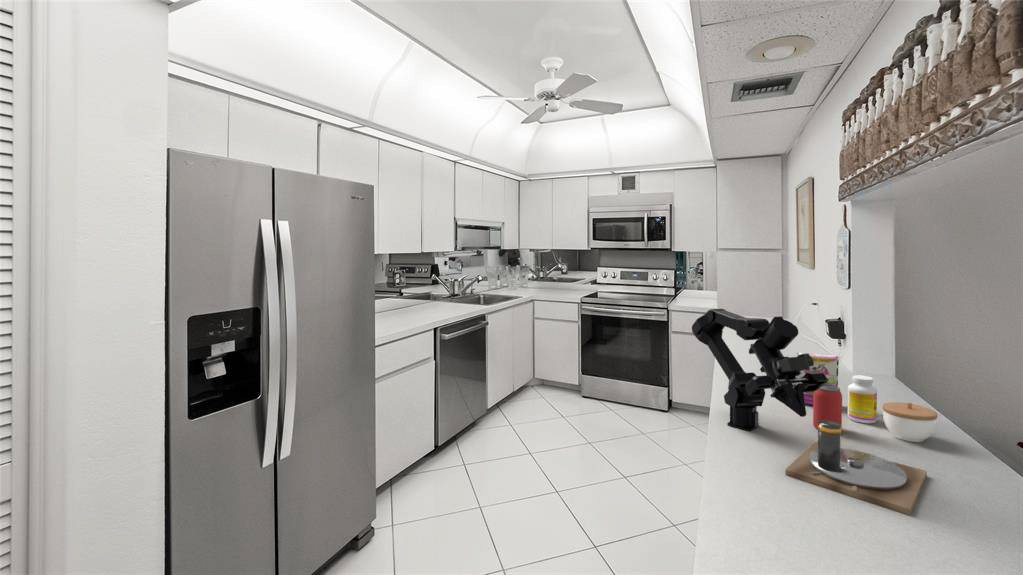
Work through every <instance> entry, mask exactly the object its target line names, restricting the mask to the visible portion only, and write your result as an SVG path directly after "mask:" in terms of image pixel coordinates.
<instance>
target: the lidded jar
mask: <svg viewBox="0 0 1023 575" xmlns="http://www.w3.org/2000/svg"><path fill="white" fill-rule="evenodd" d="M882 417H883V423H884V426H885V427H886V428H887V430H889V432H890V433H891V434H892V435H893V437H895V438H897V439H900V440H903V441H906V442H913V443H922V442H924V441H925V440H927V439H929V438H930V437H931V436H932V435H933V434H934V432H935V431H936V427H937V423H938V422H937V418H938V412H936V410H934V409H931V408H929V407H926V406H922V405H918V404H913V403H912V402H908V401H907V402H896V401H893V402H892V401H891V402H890V401H889V402H885V403H883V404H882Z"/></svg>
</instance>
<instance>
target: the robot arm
mask: <svg viewBox="0 0 1023 575" xmlns="http://www.w3.org/2000/svg"><path fill="white" fill-rule="evenodd" d="M725 328H728V329H730V330H733V331H735V332H736V335H737V336H738V337H739V338H740V339H742V340H744V341H755V342H754V343H751V344H750V348H749V349H748V354H749V355H755V357H756V358H757V360H758V361H759V363H760V366H761V367H760V368H759V371H760V372H761V373H765V375H757V374H756V373H754V372H746V371H744V368H743V367H742V365H741V364H740V363H739V362H738V359H737V358H736V357H735V355H734V354H733V352H732V351H731V349H730V348H729V346H728V344H726V342H725V340H724V339H723V333H724V331H723V330H724V329H725ZM691 331H692V334H693V335H694V336H695V338H696V339H697V341H699V342H700V343H702V344H704V345H706V346H707V347H708V349H709V350H710V351H711V354H712V355H713V356H714V358H715V360H716V361H717V363H718V364H719V366H720V368H721V370H722V371H723V372H724V374H725V376H726V377H727V379H728V386H727V392H726V393H725V394H724V395H723V398H724V399H723V400H724V403H725V405H728V406H729V421H728V422H727V423H726V424H727V426H731V427H733V428H736V429H741V430H745V431H748V432H751V431H753V430H754V429H756V428H758V427H759V426H760V423H759V411H758V409H757V407H762V406H763V403H764V399H765V398H766V397H765V396H766V390H767V389H769V390H771V392H772V393H771V394H769V396H770V397H771V398H774V399H776V400H777V401H779V402H780V403H782V404H783V405H785V406H786V407H788V408H789V409H790V410H791V411H792V412H794V413H796V414H797V415H798V416H799V417H801V418H803V417H806V416H807V409H806V404H805V402H804V392H814V391H816V390H818V389H819V388H820V387H821V386H823V385H824V384H825V383H826V382H828V379H827V377H826V376H825V374H824V373H821V372H810V373H806V374H805V375H804V376H803V377H802V378H798V379H796V376H799V375H800V374H801V372H800V371H802V370H810V366H813V365H814V362H813V359H812V357H811V356H810V355H809V354H808V353H809V352H807V354H802V355H798V357H797V356H791V357H790V356H784V354H783V352H782V351H781V350H784V349H786V348H787V347H788V346H789V345H790V344H791V343H792V341H794V340H795V338H797V337H798V335H799V328H798V327H797V325H795V324H794V323H792V322H791V321H789V320H788V319H785V318H784V317H783V316H779V315H778V316H773V318H772V319H771V321H769V320H768V319H766V318H760V317H745V316H743V315H739V314H737V313H733V312H732V311H731V312H730V311H728V310H726V309H725V308H711V309H708V310H707V311H706V313H705V314H702V315H701V316H700V317H698V318H697V319H696V320H695V321H694V323H693V324H692V326H691ZM765 389H766V390H765Z"/></svg>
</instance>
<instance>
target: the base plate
mask: <svg viewBox="0 0 1023 575" xmlns="http://www.w3.org/2000/svg"><path fill="white" fill-rule="evenodd" d="M816 449H818V441H814V442H813V443H812V444H811V445H809V447H807V448H806V449H805V450H804V451H803V452H802V453H801V454H800V455H799V456H798V457H797V458H796V459H795V460H794V461H793V462H792V463H791V464H790V465H789V466H788V467H787V468H785V476H789V477H792V478H795V479H797V480H801V481H803V482H807V483H810V484H813V485H816V486H820V487H822V488H825V489H828V490H831V491H834V492H838V493H840V494H844V495H846V496H850V497H853V498H856V499H858V500H862V501H864V502H868V503H871V504H874V505H878V506H879V507H884V508H887V509H889V510H892V511H896V512H898V511H899V512H898V513H902V514H905V515H909V516H911V514H912V512H913V509H914V507H915V505H916V502H917V500H918V498H919V495H920V493H921V491H922V488H923V486H924V484H925V482H926V479H927V477H928V471H927V470H924V469H920V468H916V467H913V466H909V465H906V464H901V463H898V462H894V461H890V460H889V461H890V462H891V463H893V464H895V465H897V466H898V467H900V468H901V469H902V470H903V471H904V472H905V473H906V475H907V484H906V485H905V486H904V487H903V488H901V489H897V490H887V491H886V490H871V489H865V488H860V487H857V486H851V485H848V484H844V483H841V482H839V481H836V480H833V479H831V478H829V477H827V476H825V475H823V474H821V473H820V472H818V471H816V470H815V469H814V468H813V467H812V466H811V464H810V462H809V454H810V453H811V452H812V451H814V450H816Z"/></svg>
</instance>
